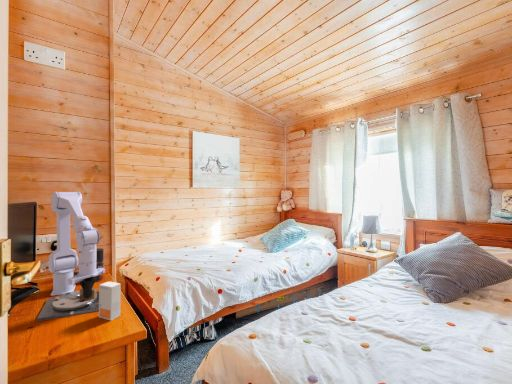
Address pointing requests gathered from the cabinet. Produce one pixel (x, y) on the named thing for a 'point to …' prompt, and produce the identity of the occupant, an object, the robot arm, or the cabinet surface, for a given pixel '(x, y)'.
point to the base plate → (52, 313)
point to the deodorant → (99, 263)
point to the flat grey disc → (73, 300)
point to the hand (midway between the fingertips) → (87, 297)
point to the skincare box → (109, 300)
